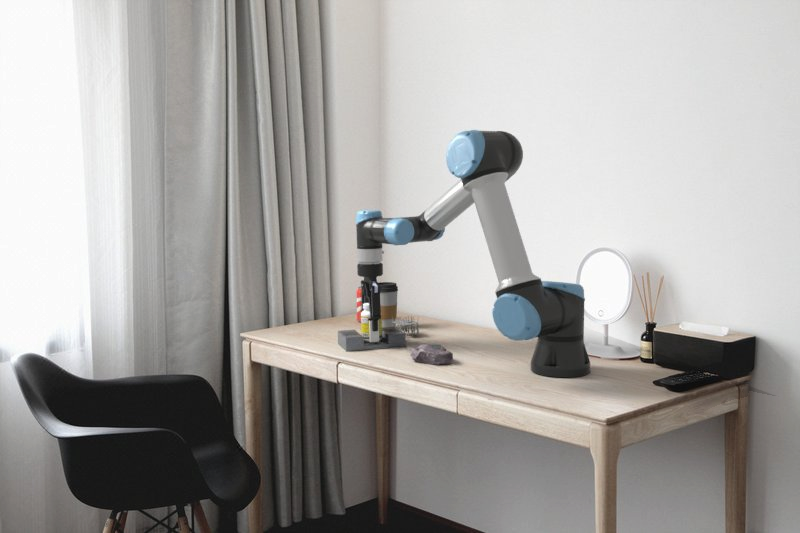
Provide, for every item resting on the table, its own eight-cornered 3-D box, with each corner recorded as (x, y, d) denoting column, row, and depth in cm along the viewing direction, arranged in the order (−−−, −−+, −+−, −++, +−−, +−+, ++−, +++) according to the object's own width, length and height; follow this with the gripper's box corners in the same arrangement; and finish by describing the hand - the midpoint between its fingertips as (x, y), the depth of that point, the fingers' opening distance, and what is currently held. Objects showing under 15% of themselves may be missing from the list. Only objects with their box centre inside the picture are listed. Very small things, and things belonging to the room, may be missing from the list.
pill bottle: (383, 338, 251) (382, 301, 250) (380, 342, 245) (380, 305, 244) (363, 338, 252) (362, 301, 250) (360, 342, 245) (359, 305, 244)
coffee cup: (369, 327, 275) (368, 283, 274) (392, 325, 279) (391, 281, 277) (379, 332, 268) (378, 286, 266) (402, 329, 271) (402, 284, 270)
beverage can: (367, 319, 291) (366, 285, 290) (378, 321, 286) (377, 287, 285) (353, 321, 287) (352, 287, 286) (364, 324, 282) (363, 289, 281)
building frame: (408, 332, 267) (408, 314, 266) (421, 337, 260) (421, 318, 259) (391, 335, 264) (391, 316, 263) (404, 339, 257) (404, 320, 256)
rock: (439, 368, 220) (439, 351, 219) (406, 362, 227) (406, 345, 227) (458, 362, 226) (458, 346, 225) (425, 356, 233) (425, 340, 233)
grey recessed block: (405, 346, 246) (405, 333, 245) (346, 351, 241) (345, 337, 240) (395, 339, 256) (394, 326, 256) (338, 343, 251) (337, 330, 251)
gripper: (391, 265, 237) (392, 344, 240) (373, 258, 256) (375, 332, 258) (365, 266, 235) (367, 346, 238) (350, 259, 253) (351, 334, 256)
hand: (371, 339), depth 248 cm, fingers closed on pill bottle, 6 cm apart
